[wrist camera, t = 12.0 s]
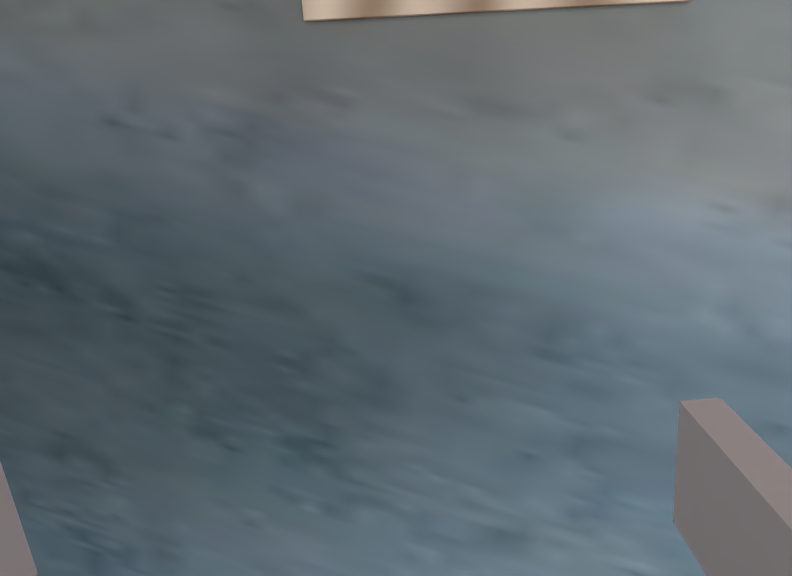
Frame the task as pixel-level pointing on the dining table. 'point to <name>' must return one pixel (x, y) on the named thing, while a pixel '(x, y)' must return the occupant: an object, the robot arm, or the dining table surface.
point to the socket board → (440, 7)
